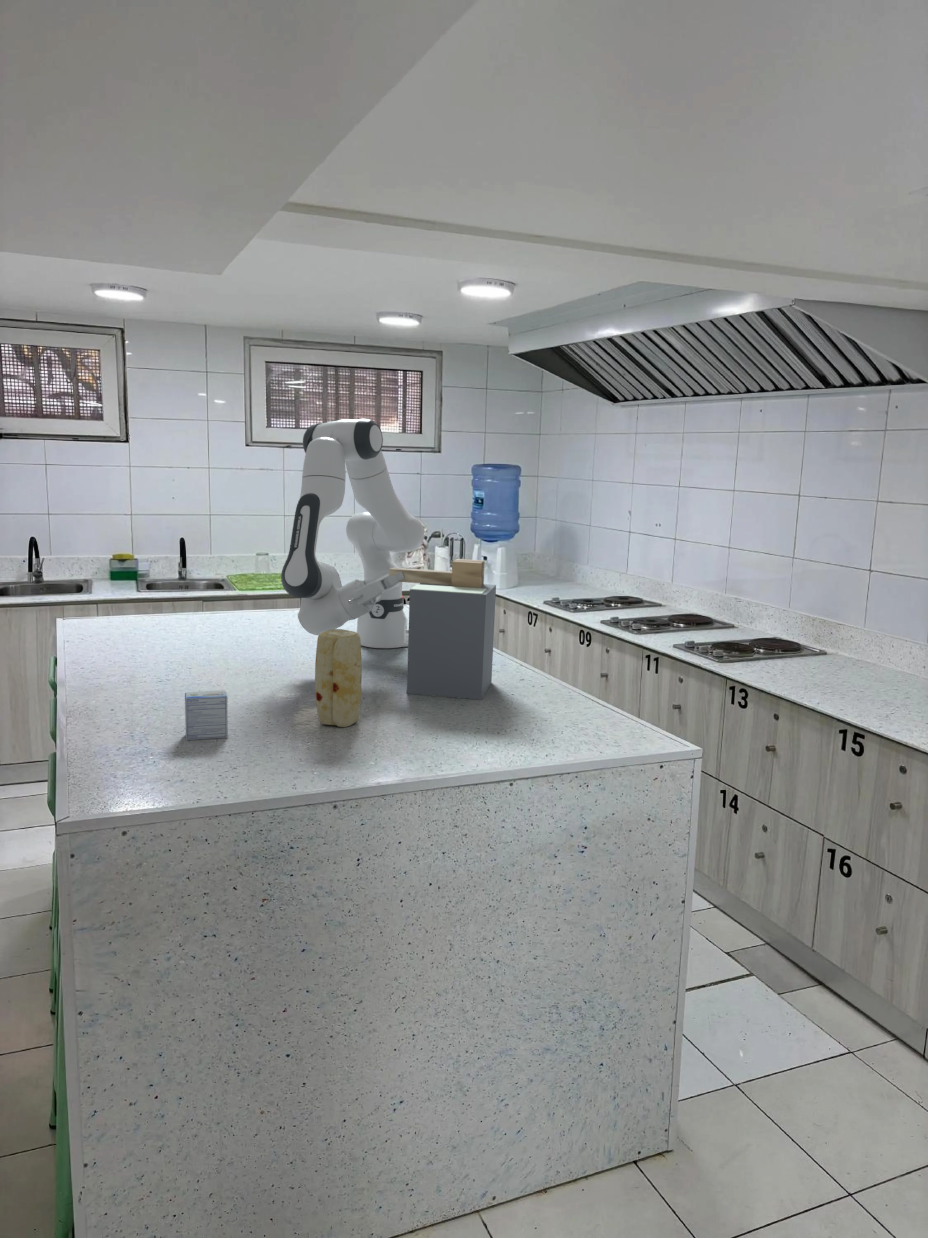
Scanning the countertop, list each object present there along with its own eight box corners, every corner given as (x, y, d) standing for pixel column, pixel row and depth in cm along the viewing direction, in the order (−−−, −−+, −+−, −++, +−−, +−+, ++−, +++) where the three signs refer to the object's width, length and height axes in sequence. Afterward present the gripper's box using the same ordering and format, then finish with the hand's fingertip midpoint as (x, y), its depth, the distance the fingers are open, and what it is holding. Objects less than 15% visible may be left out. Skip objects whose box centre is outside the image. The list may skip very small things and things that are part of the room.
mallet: (393, 578, 222) (394, 555, 221) (483, 584, 218) (484, 560, 217) (387, 581, 216) (388, 557, 215) (479, 587, 212) (481, 563, 211)
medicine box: (226, 731, 176) (226, 689, 174) (228, 738, 172) (227, 695, 170) (185, 734, 173) (184, 691, 172) (185, 741, 169) (185, 697, 168)
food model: (356, 717, 189) (358, 626, 185) (365, 727, 183) (367, 632, 179) (311, 721, 185) (312, 627, 181) (318, 730, 179) (319, 634, 175)
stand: (422, 676, 226) (425, 579, 222) (491, 682, 223) (496, 584, 219) (406, 693, 210) (409, 588, 205) (481, 699, 207) (486, 593, 202)
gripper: (339, 592, 211) (388, 566, 208) (363, 581, 231) (408, 557, 228) (351, 615, 211) (401, 590, 208) (374, 602, 231) (420, 579, 228)
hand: (405, 573), depth 218 cm, fingers closed on mallet, 3 cm apart
